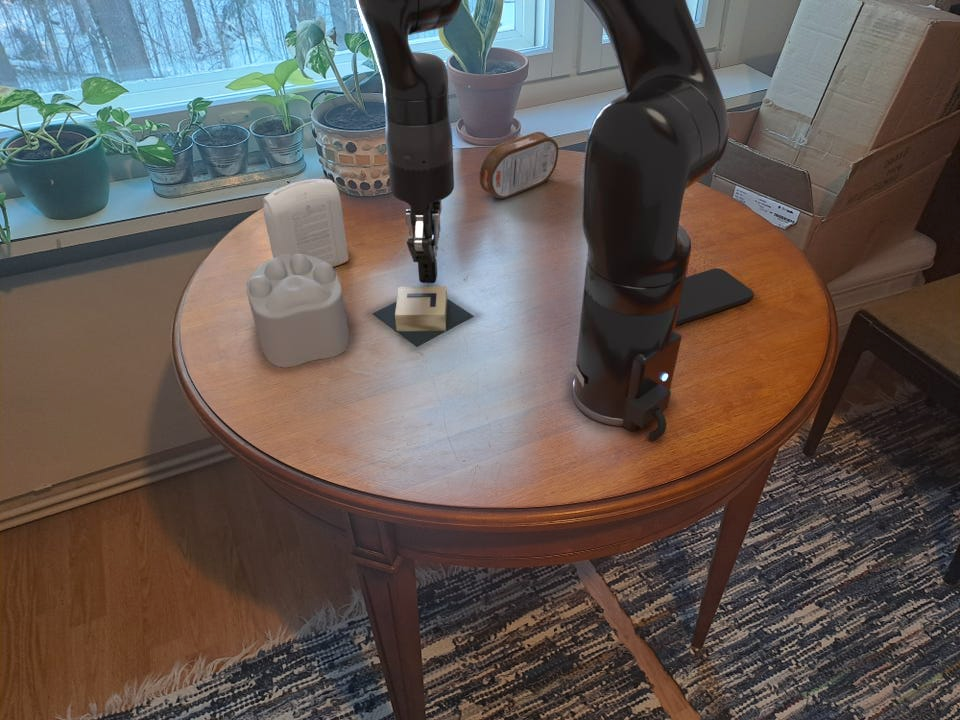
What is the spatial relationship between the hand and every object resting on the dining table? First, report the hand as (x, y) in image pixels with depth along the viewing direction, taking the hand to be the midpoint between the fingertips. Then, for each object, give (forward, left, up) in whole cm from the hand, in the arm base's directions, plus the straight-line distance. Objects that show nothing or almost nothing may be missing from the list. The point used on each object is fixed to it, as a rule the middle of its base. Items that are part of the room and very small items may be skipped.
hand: (428, 279), depth 92 cm
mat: (-4, +4, -2) cm, 6 cm away
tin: (+12, -29, -2) cm, 31 cm away
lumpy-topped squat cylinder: (+4, +17, -2) cm, 17 cm away
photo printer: (+15, +8, -2) cm, 17 cm away
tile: (-4, +4, -1) cm, 6 cm away
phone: (-25, -23, -2) cm, 34 cm away
